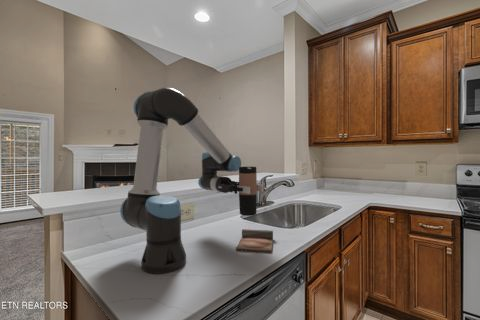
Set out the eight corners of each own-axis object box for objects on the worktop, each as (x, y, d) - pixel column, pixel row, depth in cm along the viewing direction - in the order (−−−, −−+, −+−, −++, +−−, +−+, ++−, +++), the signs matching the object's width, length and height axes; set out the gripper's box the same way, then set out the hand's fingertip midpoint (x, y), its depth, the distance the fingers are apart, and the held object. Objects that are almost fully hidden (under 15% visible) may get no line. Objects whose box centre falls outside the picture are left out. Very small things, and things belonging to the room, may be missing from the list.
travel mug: (244, 210, 107) (244, 166, 107) (259, 212, 103) (259, 166, 103) (235, 214, 101) (235, 167, 100) (252, 216, 97) (251, 167, 96)
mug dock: (271, 253, 93) (271, 242, 93) (236, 250, 95) (236, 240, 95) (272, 239, 107) (272, 230, 107) (242, 237, 110) (242, 229, 110)
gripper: (237, 189, 122) (272, 195, 105) (204, 194, 108) (238, 201, 91) (236, 175, 122) (272, 178, 105) (203, 178, 108) (238, 182, 91)
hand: (256, 189), depth 98 cm, fingers closed on travel mug, 7 cm apart
